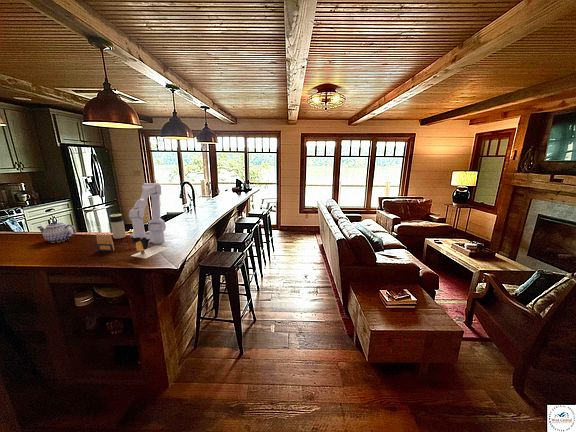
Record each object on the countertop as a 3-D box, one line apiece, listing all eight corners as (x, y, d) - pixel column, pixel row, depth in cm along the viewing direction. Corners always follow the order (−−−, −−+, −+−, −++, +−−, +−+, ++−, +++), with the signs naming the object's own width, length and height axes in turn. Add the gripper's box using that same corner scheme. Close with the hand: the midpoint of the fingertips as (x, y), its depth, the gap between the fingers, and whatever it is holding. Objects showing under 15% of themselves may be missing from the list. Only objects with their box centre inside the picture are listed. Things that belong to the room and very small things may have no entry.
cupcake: (134, 250, 142) (133, 242, 141) (142, 247, 148) (141, 239, 146) (141, 251, 141) (140, 243, 140) (149, 248, 146) (148, 240, 145)
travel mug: (127, 235, 183) (124, 213, 178) (122, 238, 175) (118, 216, 170) (117, 235, 181) (112, 213, 177) (111, 239, 174) (106, 216, 169)
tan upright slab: (115, 250, 153) (112, 233, 150) (113, 251, 151) (109, 234, 148) (100, 250, 154) (96, 233, 151) (98, 251, 152) (94, 234, 149)
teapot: (85, 236, 178) (81, 218, 175) (68, 243, 163) (63, 224, 160) (51, 237, 177) (46, 218, 173) (31, 244, 162) (25, 224, 158)
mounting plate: (131, 257, 142) (129, 250, 141) (155, 247, 159) (154, 240, 157) (145, 260, 138) (144, 253, 137) (169, 249, 155) (168, 242, 154)
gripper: (123, 228, 139) (127, 249, 143) (141, 231, 135) (145, 252, 138) (134, 225, 146) (137, 245, 149) (151, 227, 141) (154, 248, 145)
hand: (142, 248), depth 144 cm, fingers closed on cupcake, 5 cm apart
